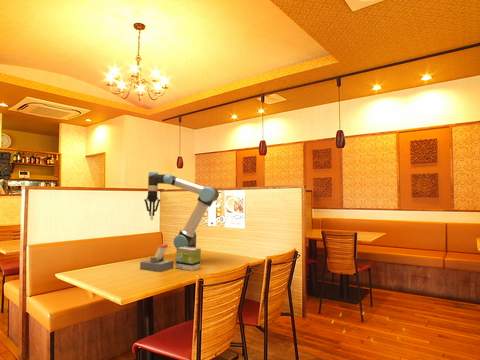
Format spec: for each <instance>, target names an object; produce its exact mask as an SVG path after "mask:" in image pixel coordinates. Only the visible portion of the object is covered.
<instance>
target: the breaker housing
mask: <svg viewBox="0 0 480 360" xmlns="http://www.w3.org/2000/svg"><path fill="white" fill-rule="evenodd" d="M154 257H155V256H152V257H151V256H150V259H147V260H142V261H140V263H139V270H144V271H151V272H156V273H157V272H158V273H162V272H166V271H169V270H172V269H174V260H167V259H164V257H165V256H164V255H163V257H162V259H161V260H159V261H156V258H154Z"/></svg>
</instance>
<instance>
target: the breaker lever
mask: <svg viewBox="0 0 480 360" xmlns="http://www.w3.org/2000/svg"><path fill="white" fill-rule="evenodd" d="M167 249H168V243H163V244H160V245H159V246H158V248H157V250H156V252H155V254H154V256H153V257H154V258H156V261H159V260H161V259H162V257H163V256H164V254H165V253H166V251H167Z"/></svg>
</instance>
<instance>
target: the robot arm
mask: <svg viewBox="0 0 480 360" xmlns="http://www.w3.org/2000/svg"><path fill="white" fill-rule="evenodd" d="M147 179H148V180H147V184H148V185H147V197H146V198H144V200H143V201H144V203H145V206H146V207H145V208H146V211H147V212H149V213H148V214H149V217H150V219H149V220H150V221H153V220H154V217H155V212H157V211H158V208H159V204H160V203H161V200H162V199H160V198H159V197H158V189H159V188H158V185H159V184H160V185H163V184H164V185H165V184H166V185H171V186H173V187H176V188H180V189H182V190H184V191H188V192H191V193H194V194H196V195H198V198H197V204H196V205H195V207H194V209H193V211H192V212H191V214H190V216H189V218H188V220H187V222H186V223H185V225H184V227H183V228H182V229H180V231H179V233H178V234H177V235H176V236H175V237H174V239H173V246H174V247H175V249H177V248H180V247H184V246H186V247H193V248H197V232H196V230H197V228H198V226H199V224H200V223H201V220H202V219H203V217H204V215H205V213H206V211H207V210H208V208H210V207H211V206H212V204H213V203H214V202H216V201H217V199H219V196H220V193H219V191H218V189H217V188H216V187H211V186H208V185H205V186H204V185H201V184H197V183H195V182H192V181H189V180H185V179H183V178H180V177H177V176H175V175H172V174H168V173H167V174H166V173H165V174H160V173H159V172H157V171H149V172H148V178H147ZM156 201H157V202H156ZM148 202H149V204H148Z"/></svg>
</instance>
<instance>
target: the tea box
mask: <svg viewBox="0 0 480 360" xmlns="http://www.w3.org/2000/svg"><path fill="white" fill-rule="evenodd" d="M201 251H202V248H200V247H196V248H193V247H186V246H184V247H180V248H176V251H175V253H176V254H175V255H176V256H175V269H179V270H186V271H190V272H193V271H197V270H200V269H201V256H202V255H201Z"/></svg>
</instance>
